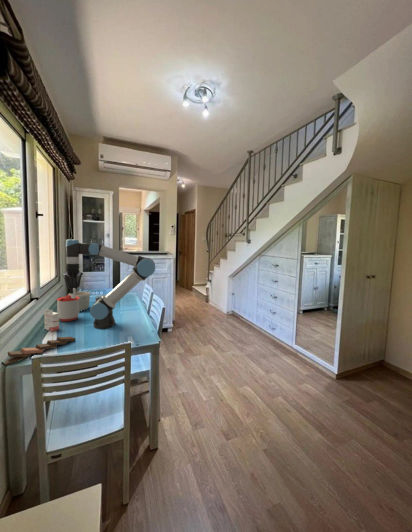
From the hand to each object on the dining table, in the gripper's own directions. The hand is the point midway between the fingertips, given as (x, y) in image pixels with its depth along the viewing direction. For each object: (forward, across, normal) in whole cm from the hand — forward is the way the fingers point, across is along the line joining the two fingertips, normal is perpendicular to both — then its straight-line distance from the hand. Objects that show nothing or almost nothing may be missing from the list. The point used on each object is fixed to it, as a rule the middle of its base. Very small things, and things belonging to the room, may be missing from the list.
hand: (73, 297), depth 163 cm
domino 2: (+24, +35, +10) cm, 43 cm away
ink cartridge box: (+25, +4, -18) cm, 31 cm away
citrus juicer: (+25, -15, -29) cm, 41 cm away
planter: (+25, -34, -44) cm, 61 cm away
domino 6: (+24, +7, +10) cm, 27 cm away
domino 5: (+24, +13, +10) cm, 29 cm away
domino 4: (+24, +19, +9) cm, 32 cm away
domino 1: (+24, +32, +9) cm, 41 cm away
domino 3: (+24, +26, +10) cm, 37 cm away
